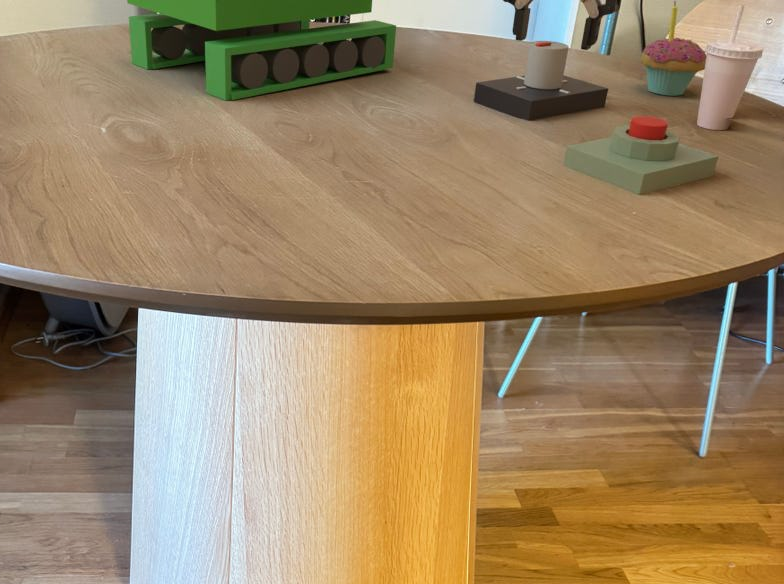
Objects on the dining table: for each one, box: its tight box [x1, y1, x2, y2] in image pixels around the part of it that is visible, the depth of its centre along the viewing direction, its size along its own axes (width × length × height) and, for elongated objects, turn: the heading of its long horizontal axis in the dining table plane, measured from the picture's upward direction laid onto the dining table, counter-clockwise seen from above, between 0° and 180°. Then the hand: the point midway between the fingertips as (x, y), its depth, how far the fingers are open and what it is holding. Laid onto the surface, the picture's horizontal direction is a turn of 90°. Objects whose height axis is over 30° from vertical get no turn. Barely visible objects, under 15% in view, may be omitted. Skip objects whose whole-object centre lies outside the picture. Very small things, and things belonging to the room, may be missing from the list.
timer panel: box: [473, 74, 609, 122], centre depth 114 cm, size 14×10×3 cm
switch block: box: [563, 124, 719, 196], centre depth 92 cm, size 12×10×4 cm
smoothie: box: [696, 4, 765, 131], centre depth 106 cm, size 6×6×14 cm
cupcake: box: [640, 0, 707, 97], centre depth 120 cm, size 9×8×12 cm
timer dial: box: [524, 40, 569, 90], centre depth 112 cm, size 5×5×5 cm
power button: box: [628, 115, 669, 140], centre depth 91 cm, size 4×4×2 cm
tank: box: [126, 0, 397, 101], centre depth 124 cm, size 24×35×16 cm
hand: (552, 44), depth 111 cm, fingers open, 8 cm apart
